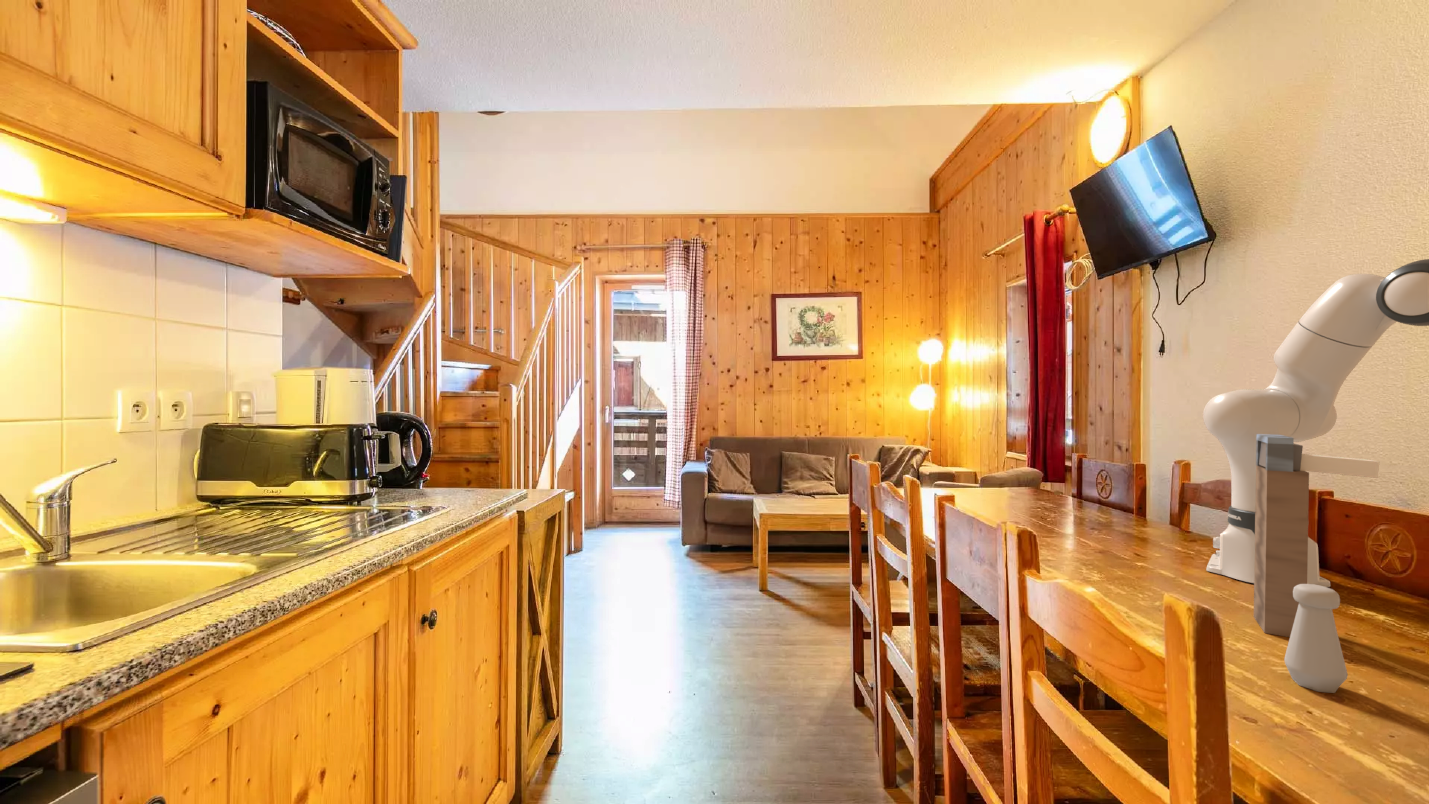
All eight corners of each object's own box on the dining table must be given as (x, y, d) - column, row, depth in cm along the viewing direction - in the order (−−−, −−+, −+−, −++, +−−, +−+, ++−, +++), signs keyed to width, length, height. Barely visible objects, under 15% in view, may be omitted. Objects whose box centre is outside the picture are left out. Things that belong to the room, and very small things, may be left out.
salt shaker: (1360, 698, 74) (1362, 595, 74) (1306, 694, 75) (1308, 592, 75) (1322, 676, 80) (1324, 581, 80) (1273, 672, 81) (1274, 578, 81)
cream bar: (1258, 464, 99) (1261, 440, 99) (1367, 475, 92) (1370, 449, 92) (1265, 467, 95) (1268, 442, 95) (1380, 479, 88) (1383, 452, 88)
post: (1253, 616, 101) (1256, 434, 100) (1292, 622, 98) (1295, 435, 98) (1264, 632, 94) (1267, 437, 94) (1306, 639, 92) (1309, 438, 91)
